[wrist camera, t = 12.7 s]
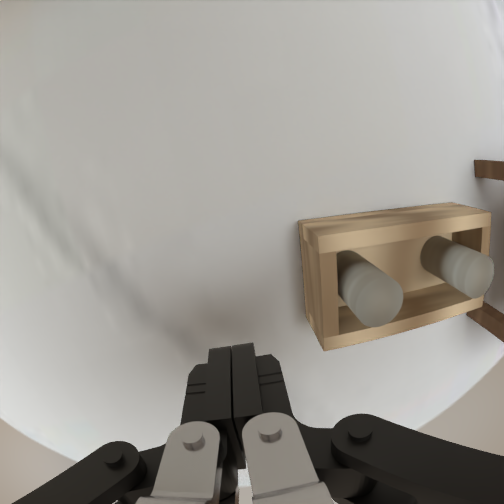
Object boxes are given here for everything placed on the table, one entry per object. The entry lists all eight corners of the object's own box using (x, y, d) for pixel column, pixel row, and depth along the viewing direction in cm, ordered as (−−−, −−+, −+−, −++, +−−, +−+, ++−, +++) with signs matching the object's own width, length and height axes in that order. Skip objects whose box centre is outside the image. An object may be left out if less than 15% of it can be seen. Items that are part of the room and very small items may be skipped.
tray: (306, 316, 19) (333, 369, 14) (298, 220, 18) (329, 245, 12) (448, 285, 20) (497, 316, 14) (451, 202, 18) (509, 217, 13)
